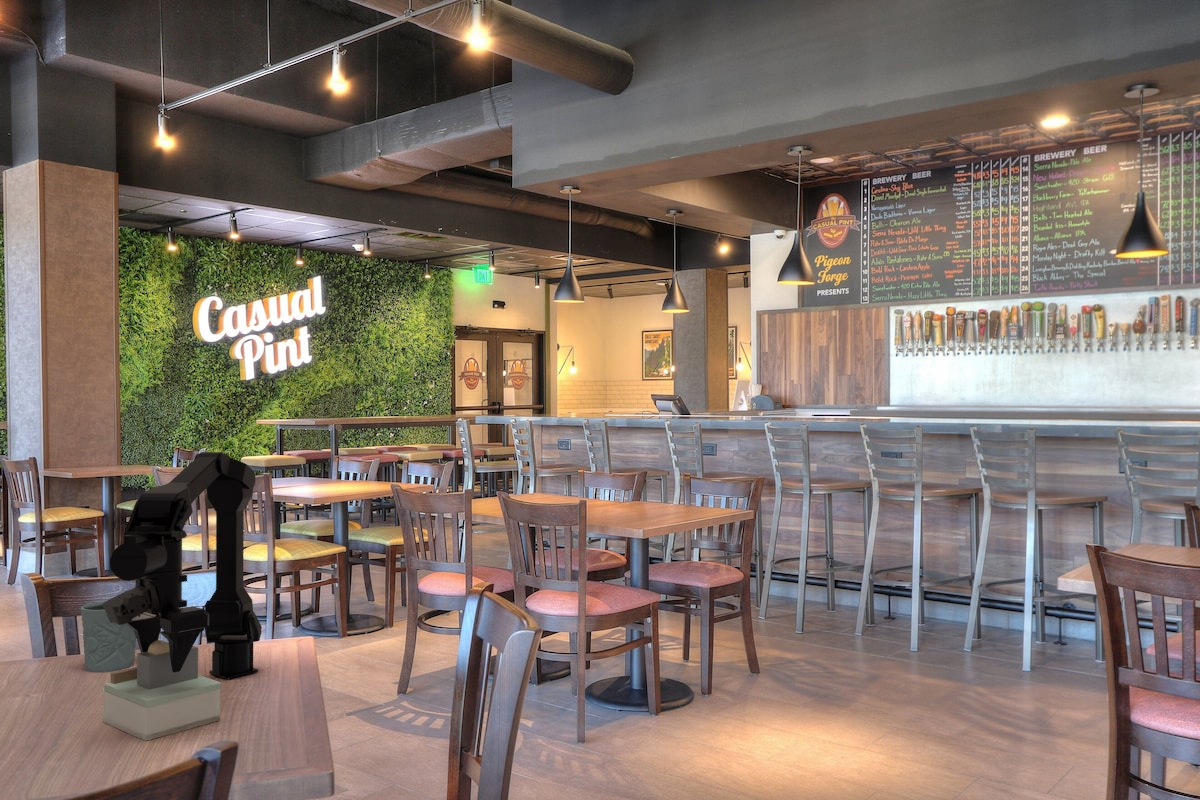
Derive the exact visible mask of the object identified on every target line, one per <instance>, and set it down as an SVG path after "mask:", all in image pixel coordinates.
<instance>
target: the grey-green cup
mask: <svg viewBox="0 0 1200 800" xmlns="http://www.w3.org/2000/svg"><path fill="white" fill-rule="evenodd" d="M106 601H107V600H105V601H104V600H103V601H97V602H91V603H87V604H84V605H82V606H81V607H80V612H81V613H80V616H81V622H82V623H81V624H82V629H83V630H82V640H83V654H84V657H83V658H84V659H83V660H84V669H85V671H86V672H90V673H106V672H107V673H108V672H109V673H111V672H116V671H121V670H126V669H129V668H130V667H131V668H132V666H134V664H135V660H136V659H135V658H136V650H135V648H136V643H137V639H136V636H135V633H134V631H133V629H131V628H130V627H129V626H127V625H126V624H123V625H118V624H117V623H114V622H112V623H111V622H109V619H108V617H107V614H106V612H105V609H104V606H103V603H104V602H106Z"/></svg>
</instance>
